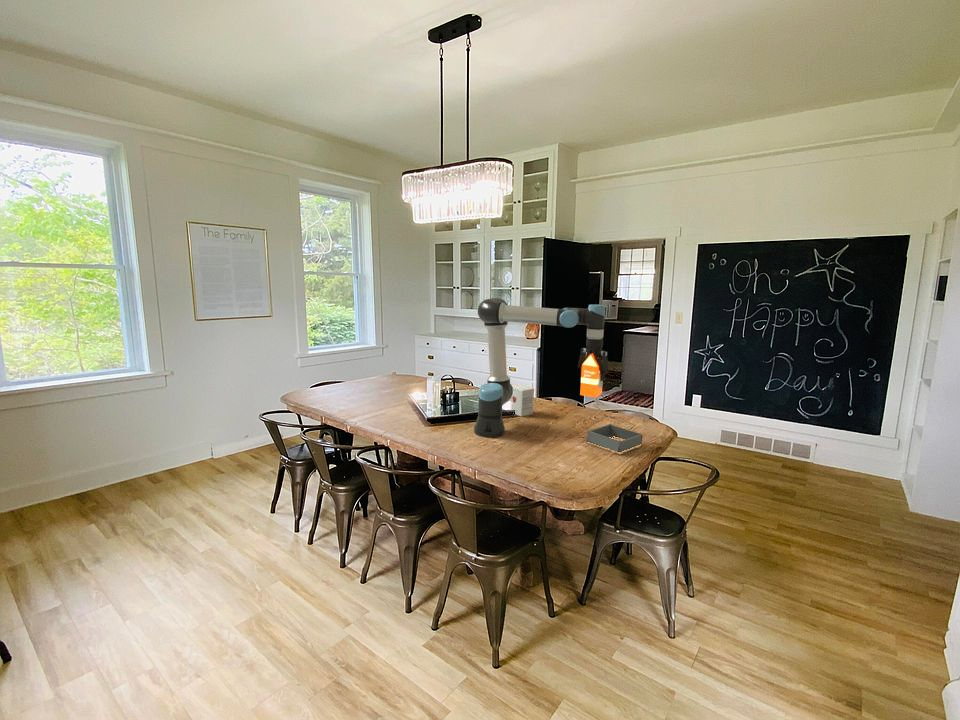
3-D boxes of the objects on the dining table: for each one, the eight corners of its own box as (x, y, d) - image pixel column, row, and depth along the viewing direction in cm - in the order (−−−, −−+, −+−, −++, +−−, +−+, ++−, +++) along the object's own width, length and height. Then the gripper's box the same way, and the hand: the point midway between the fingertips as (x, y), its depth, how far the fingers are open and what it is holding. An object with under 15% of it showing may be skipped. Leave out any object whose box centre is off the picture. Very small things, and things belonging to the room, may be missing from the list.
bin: (619, 455, 199) (620, 442, 197) (586, 443, 212) (587, 430, 211) (641, 446, 210) (642, 434, 208) (609, 435, 223) (610, 424, 222)
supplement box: (510, 412, 255) (511, 386, 252) (522, 410, 260) (523, 384, 257) (521, 416, 248) (522, 390, 245) (533, 414, 253) (534, 388, 250)
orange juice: (602, 393, 217) (605, 352, 213) (595, 397, 210) (598, 355, 206) (586, 391, 221) (589, 350, 217) (579, 394, 214) (582, 353, 210)
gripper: (619, 340, 205) (615, 388, 209) (581, 334, 221) (578, 380, 225) (609, 341, 200) (606, 391, 204) (571, 336, 216) (568, 382, 220)
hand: (591, 385), depth 214 cm, fingers closed on orange juice, 9 cm apart
